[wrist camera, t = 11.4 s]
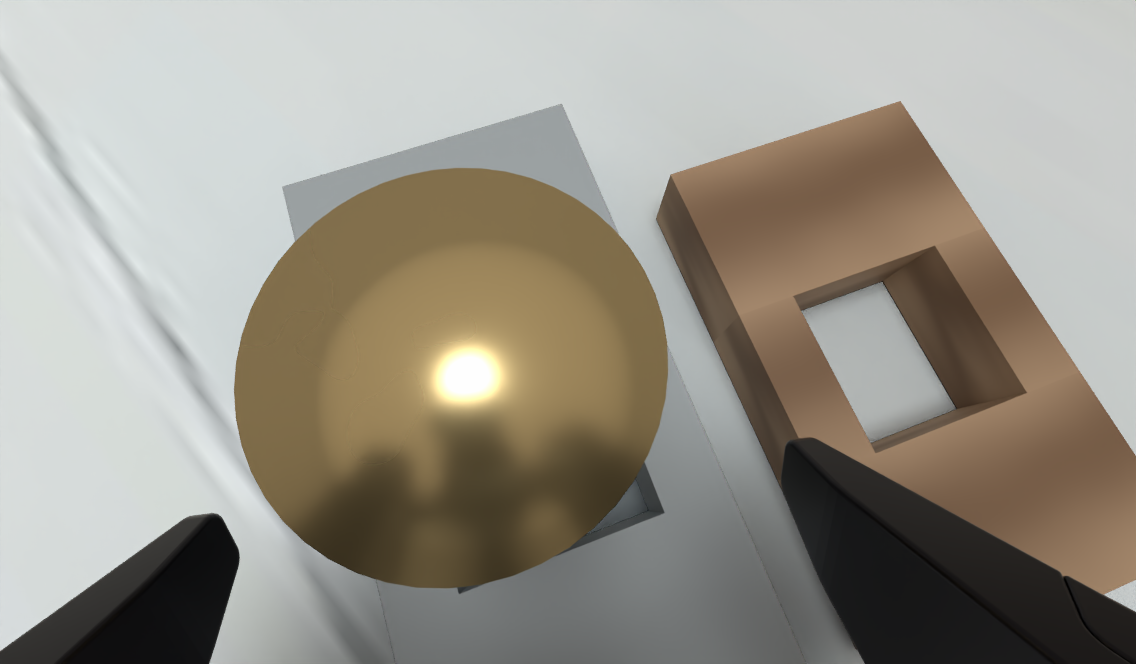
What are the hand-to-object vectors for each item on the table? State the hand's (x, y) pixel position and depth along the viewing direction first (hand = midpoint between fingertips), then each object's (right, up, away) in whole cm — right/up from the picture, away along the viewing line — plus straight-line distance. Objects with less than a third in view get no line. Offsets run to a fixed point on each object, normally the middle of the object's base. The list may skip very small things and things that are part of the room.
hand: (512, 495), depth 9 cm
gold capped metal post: (0, -2, +10) cm, 10 cm away
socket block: (+11, +1, +11) cm, 16 cm away
